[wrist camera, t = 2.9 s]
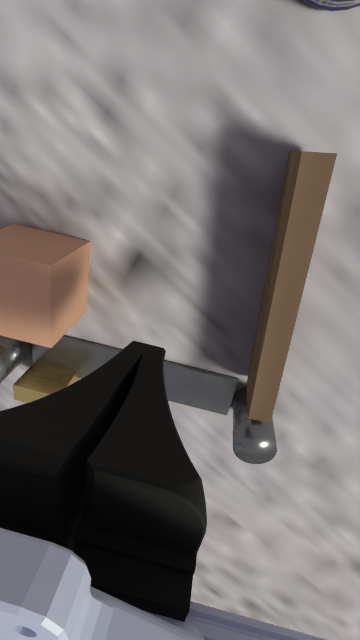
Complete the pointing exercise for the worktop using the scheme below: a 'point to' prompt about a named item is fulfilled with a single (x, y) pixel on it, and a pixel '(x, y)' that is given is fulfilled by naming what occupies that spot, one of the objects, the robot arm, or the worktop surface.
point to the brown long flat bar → (287, 275)
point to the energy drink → (333, 4)
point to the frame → (180, 381)
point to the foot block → (41, 283)
